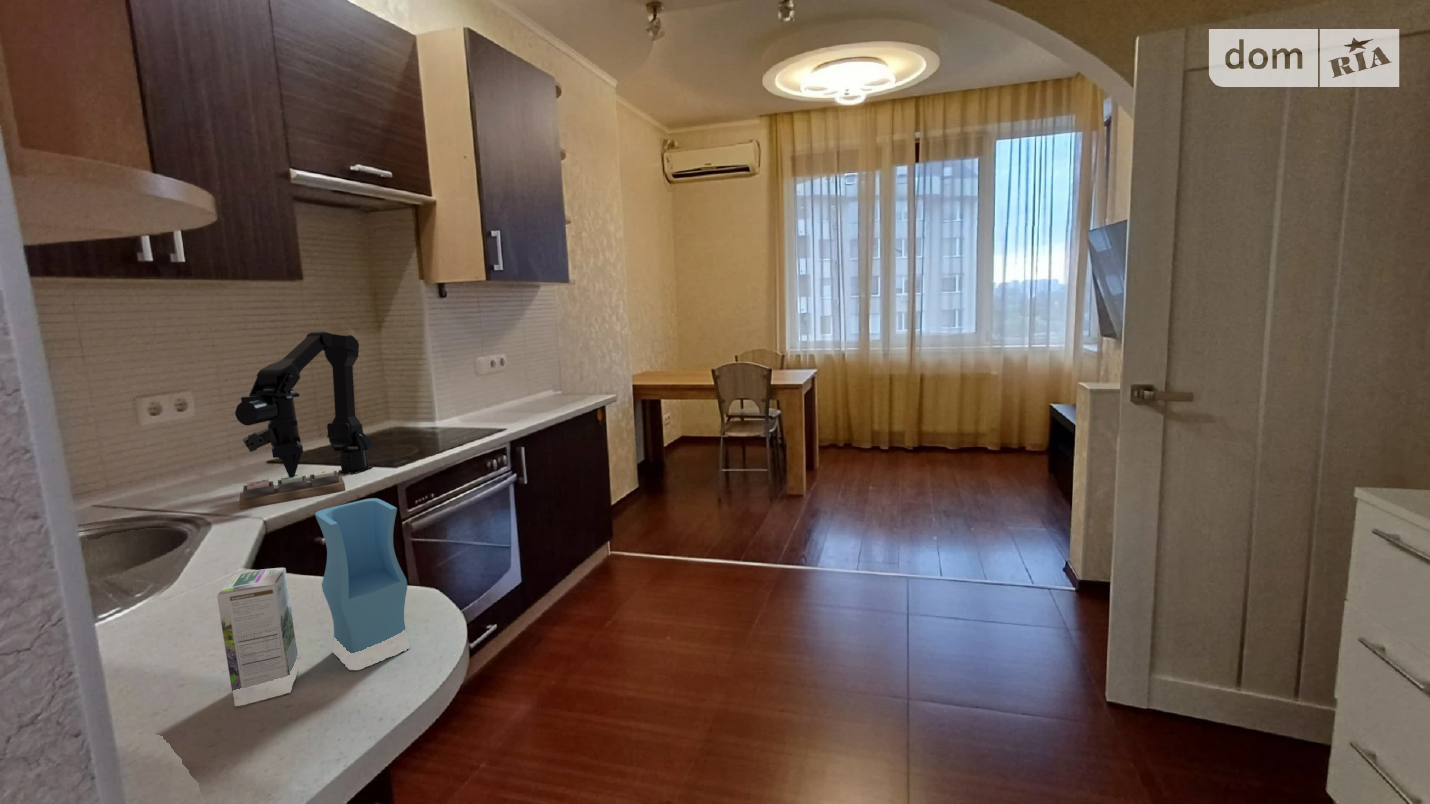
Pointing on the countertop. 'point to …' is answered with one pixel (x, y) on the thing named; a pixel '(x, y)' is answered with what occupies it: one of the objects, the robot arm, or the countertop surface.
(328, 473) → the tile one
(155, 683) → the countertop surface
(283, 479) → the tile two
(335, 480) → the digit board
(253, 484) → the tile three
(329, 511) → the blue tall chair-shaped block
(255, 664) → the syrup box
